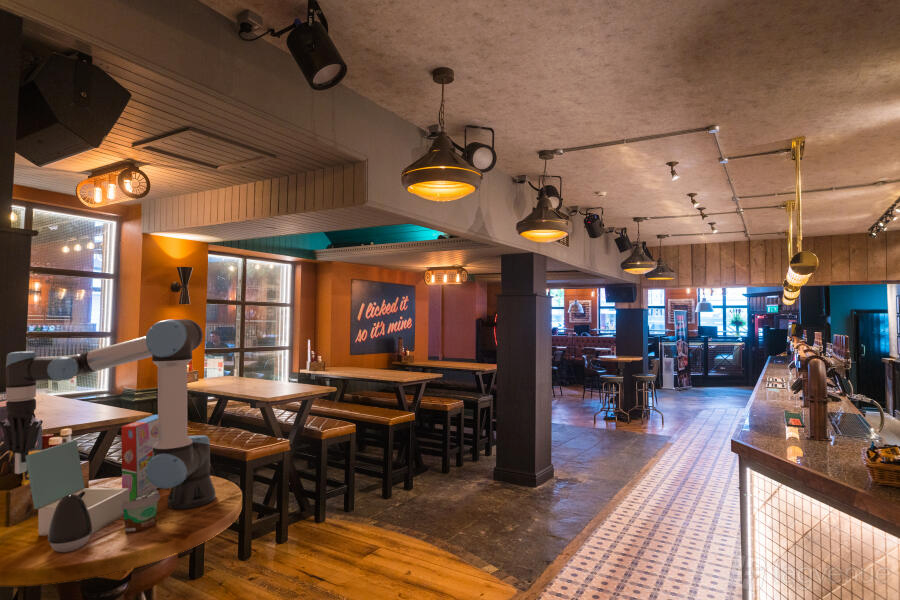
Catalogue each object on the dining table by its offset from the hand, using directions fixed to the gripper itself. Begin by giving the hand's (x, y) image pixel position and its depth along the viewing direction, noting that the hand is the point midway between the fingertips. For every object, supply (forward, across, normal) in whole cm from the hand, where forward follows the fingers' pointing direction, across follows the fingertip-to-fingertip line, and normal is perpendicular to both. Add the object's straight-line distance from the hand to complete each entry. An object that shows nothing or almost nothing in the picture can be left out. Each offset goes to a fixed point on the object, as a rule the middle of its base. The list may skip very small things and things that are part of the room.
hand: (20, 472), depth 166 cm
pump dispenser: (+16, -31, +17) cm, 39 cm away
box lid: (0, -13, 0) cm, 13 cm away
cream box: (+16, -22, 0) cm, 28 cm away
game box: (+16, -23, -28) cm, 40 cm away
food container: (+16, -44, +3) cm, 47 cm away
